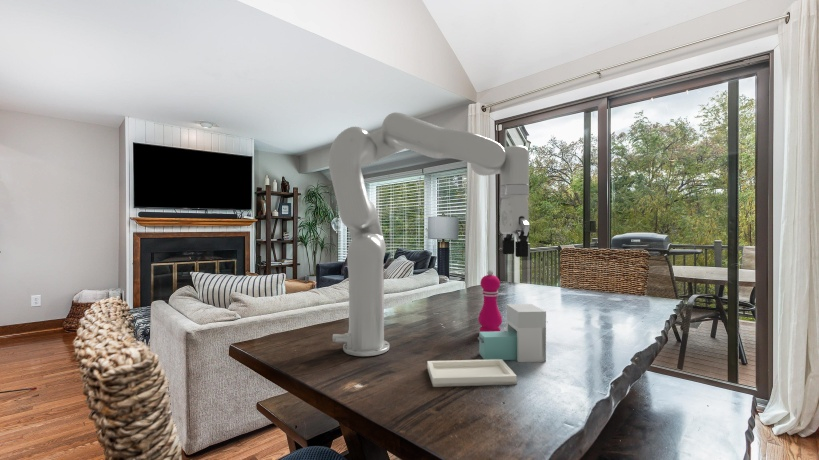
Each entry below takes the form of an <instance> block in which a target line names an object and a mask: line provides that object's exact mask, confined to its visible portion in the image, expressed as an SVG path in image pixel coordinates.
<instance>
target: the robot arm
mask: <svg viewBox="0 0 819 460" xmlns="http://www.w3.org/2000/svg"><path fill="white" fill-rule="evenodd" d="M404 149H406V150H409V151H413V152H415V153H418V154H420V155H423V156H425V157H428V158H431V159H439V160H440V159H453V160H458V161H462V162H466V163H469V164H470V167H471V169H472V171H473V172H474V173H475V174H477V175H479V176H483V177H484V176H492V175H499V181H500V184H499V185H500V193H499V194H500V199H501V202H500V209H499V210H500V217H499V232H500V233H501V234H502V236H501V237H502V255H503V254H504V255H514V254H515V257H516V258H526V257H529V236H530V231H529V230H530V227H531V226H530V219H529V218H530V215H529V203H528V201H529V200H528V199H529V198H530V151H529V149H528V147H526V146H523V145H509V146H506V147H504V146H502V145H501V143H499V142H498V141H495V140H493V139H491V138H488V137H485V136H482V135H480V134H476V133H474V132H469V131H465V130H461V129H454V128H446V127H442V126H439V125H436V124H433V123H431V122H428V121H424V120H422V119H419V118H416V117H413V116H411V115H407V114H405V113H402V112H390V113H389V114H388V115H386V117H384V118H383V121H382V125H381V128H379V129H377V130H375V131H372V132H370V133H369V131H367V130H366V129H365V128H362V127H361V126H360V127H359V126H350V127H348V128H346V129H344V130H343V131H341V132H340V133H339V134H338V135H337V136H336V138H335V139H334V140H333V142H332V143H331V146H330V149H329V154H328V167H329V174H330V178H331V183H332V187H333V192H334V195H335V200H336V202H337V207H338V211H339V216H340V220H341V222H342V224H343V225H344V226H345V227H347V228H348V232H349V235H350V236H349V237H350V242H349V245H348V248H347V255H346V256H347V258H346V259H347V271H348V275H347V276H348V331H347V332H345V333H344V334H339V333H333V334H332V342H335V343H336V344H343V347H342V350H343V352H344V353H345V354H347V355H349V356H353V357H354V356H355V357H373V356H378V355H381V354H382V355H383V354H385V353H386V352H387V351H389V350H390V342H388V341H387V340H385V292H384V291H385V284H384V282H385V281H384V280H385V279H384V278H385V277H384V276H385V274H384V259H385V256H386V252H387V251H386V250H387V246H386V241H385V237H384V234H383V229H382V227H381V222H380V219H379V215H378V212H377V208H376V207H375V205H374V203H373V202H372V201H371V200H370V198H369V194H368V192H367V188H366V185H365V183H366V182H365V179H364V175H363V172H362V168H361V166H369V165H371V164H374V163H376V162H379V161H381V160H384V159H386V158H388V157H390V156H393V155H395V154H397V153H399V152H401V151H402V150H404ZM514 236H515V238H516V241H515V239H514Z"/></svg>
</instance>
